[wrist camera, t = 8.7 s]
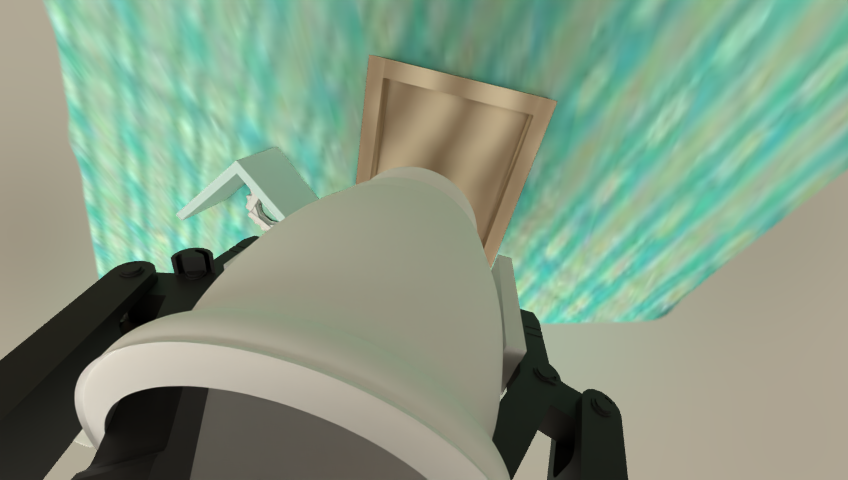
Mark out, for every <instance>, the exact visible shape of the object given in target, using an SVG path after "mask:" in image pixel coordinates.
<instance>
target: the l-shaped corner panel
mask: <svg viewBox="0 0 848 480" xmlns="http://www.w3.org/2000/svg"><path fill="white" fill-rule="evenodd" d="M245 183H246V185H247V186H248V187H249V188H250V191H251V194H249V195H247V196H246V197H247V200H248V203H247V204H246V206H245V207H246V208H247V209H248V210H249V211H250V212H249V213H248V216H249V217H250V218H251V219H253V220H254V223H255V224H259V225H260V226H261V229H262V230H264V231H268V230H269V229H271V228H272V227H273V226H275V225H276V224H277V223H279V222H280V221H282V220H283V219H284V218H286V217H288V216H289V215H291V214H292V213H294V212H296V211H297V210H299V209H301V208H302V207H304V206H305V205H307V204H308V203H312V202H314V201H316V200H318V199H319V198H318V197H317V196H316V195H315V193H314V192H313V191H312V190H311V188H310V187H309V186H308V184H307V183H306V182H305V181H304V179H303V178H302V177H301V176H300V174H299V173H298V172H297V171H296V169H295V168H294V167H293V166H292V164H291V163H290V162H289V161H288V159H287V158H286V157H285V156H284V154H283V153H282V152H281V151H280V149H279V148H278V147H275V148H272V149H269V150H266V151H263V152H260V153H257V154H254V155H251V156H248V157H245V158H242V159H239V160H236V161H235V162H234V163H233V164H232V165H231V166H230V167H228V168H227V169H226V170H225V171H224V172H223V173H222V174H221V175H220V176H218V177H217V178H216V179H215V180H214V181H213V182H212V183H211V184H209V185H208V186H207V187H206V188H205V189H204V190H203V191H202V192H200V193H199V194H198V195H197V196H196V197H195V198H194V199H193V200H192V201H190V202H189V203H188V204H187V205H186V206H185V207H184V208H183V209H181V210H180V211H179V212H178V213H177V214H176V215H177V216H178V217H179V218H180V219H181V220H184V219H186V218H189V217H191V216H193V215H195V214H197V213H199V212H201V211H203V210H205V209H207V208H209V207H212V206H214V205H216V204H218V203H220V202H222V201H224V200H226V199H227V198H228V197H230V196H231V195H232V194H233V193H235V192H236V191H237V190H238V189H239V188H241V187H242V186H243V185H244V184H245ZM261 202H262V203H263V204H264V205H265V206H266V208H267V209H268V210H269V211H270V212H271V213H272V214H273V216H274V217H275V218H276V219H277V220H278V221H279V222H275V221H271V220H269V219H268V218H267V217H266V216H265V214H264V213H263V212H262V208H261Z"/></svg>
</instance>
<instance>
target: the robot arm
mask: <svg viewBox="0 0 848 480" xmlns="http://www.w3.org/2000/svg"><path fill="white" fill-rule="evenodd" d="M308 204H310V203H308ZM308 204H307V205H308ZM305 206H306V205H305ZM258 238H259V237H258V236H252V237H249V238H246V239H244V240H242V241H241V242H239V243H238V244H236V246H233V247H232V248H230V249H229V251H228V250H227V251H226V252H225V253H223V254H222V255H220V256H219V257H217V258H216V259H213V253H212V252H211V251H210V250H208V249H204V248H188V249H185V250H181V251H179V252H177V253H175V254H174V255H173V256H172V257H171V261H172V265H173V269H174V273H159V272H156V269H155V266H154V265H153V264H152V263H150V262H146V261H134V262H128V263H124V264H122V265H119V266H117V267H115V268H114V269H112V270H111V271H109V272H108V273H107V274H106V275H104V276H103V277H102V278H101V279H100V280H98V281H97V282H96V283H95V284H93V285H92V286H91V287H90V288H88V289H87V290H86V291H85V292H84V293H82V294H81V295H80V296H79V297H77V298H76V299H75V300H74V301H73V302H71V303H70V304H69V305H68V306H66V307H65V308H64V309H63V310H62V311H60V312H59V313H58V314H57V315H55V316H54V317H53V318H52V319H50V321H48V322H47V323H46V324H44V325H43V326H42V327H41V328H40V329H38V330H37V331H36V332H35V333H33V334H32V335H31V336H30V337H28V338H27V339H26V340H25V341H24V342H22V343H21V344H20V345H19V346H17V347H16V348H15V349H14V350H13V351H11V352H10V353H9V354H8V355H6V356H5V357H4V358H3V359H1V360H0V480H43V479H44V477H45V476H46V475H47V474H48V472H49V471H50V470H51V469H52V467H53V466H54V465H55V463H56V462H57V461H58V459H59V458H60V457H61V456H62V454H63V453H64V452H65V451H66V449H67V448H68V447H69V446H70V444H71V443H72V442H73V440H74V439H75V438H76V437H77V435H78V434H79V433H80V432H81V430H82V429H83V428H82V426H81V423H80V421H79V418H78V415H77V412H76V407H75V388H76V384H77V381H78V379H79V377H80V375H81V373H82V372H83V371H84V369H85V368H86V367H87V366H88V365H89V364H90V363H92V362H93V361H94V360H96V359H97V358H99V357H100V356H101V355H102V354H103V353H104V352H105V351H106V350H107V349H108V348H109V347H110V346H111V345H113V344H114V343H115V342H116V341H117V340H119V339H120V338H121V337H123V336H124V335H125V334H127V333H128V332H130V331H132V330H134V329H135V328H137V327H139V326H141V325H144V324H146V323H148V322H151V321H153V320H156V319H159V318H161V317H165V316H168V315H172V314H176V313H181V312H186V311H192V309H193V308H194V307H195V305H196V304H197V302H198V301H199V300H200V298H201V297H202V296H203V295H204V293H205V292H206V291H207V290H208V288H209V287H210V286H211V285H212V284H213V283H214V281H215V280H216V279H217V278H218V277H219V276H220V275H221V274H222V273H223V272H224V270H225V269H226V268H227V267H228V266H229V265H230V264H231V263H232V262H233V261H234V260H235V259H236V258H237V257H238V256H239V255H240V254H241V253H243V252H244V251H245V250H246V249H247V248H248V247H249V246H250V245H251V244H252V243H254V242H255V241H256V240H257V239H258ZM491 272H492V275H493V278H494V282H495V286H496V290H497V294H498V299H499V305H500V312H501V320H502V333H503V369H502V384H501V394H500V395H502V394H503V392H504V390H505V388H506V387H507V392H506V394H505V395H504V397H503V398H502V399H501V401H500V403H499V410H498V416H497V421H496V426H495V430H494V434H493V437H492V441H493V443H494V445H495V446H496V448H497V450H498V451H499V453H500V455H501V457H502V459H503V461H504V463H505V466H506V468H507V471H508V473H509V477H510V480H512V479H513V477H514V475H515V473H516V471H517V469H518V467H519V465H520V463H521V461H522V460H523V458H524V456H525V454H526V452H527V450H528V447H529V446H530V444H531V441H532V439H533V438H534V436H535V434H536V432H537V430H539V431H541V432H542V433H544V434H545V435H547V436H549V437H550V438H552V439H551V450H550V458H549V466H548V476H547V480H628V475H627V465H626V455H625V447H624V437H623V427H622V418H621V414H620V411H619V409H618V407H617V406H616V404H615V403H614V402H613V401H612V400H611V399H610V398H609V397H608V396H607V395H605V394H604V393H602V392H600V391H597V390H595V389H587V390H586V391H584V392H583V393H582V394H581V393H580V392H578V391H576V390H574V389H573V388H571V387H569V386H567V385H566V384H565V383H563V382H562V381H561V379H560V376H559V374H558V373H557V371H556V370H555V369H554V368H553V367H552V366H551V365H550V364H549V361H548V357H547V353H546V349H545V344H544V340H543V336H542V332H541V328H540V323H539V321H538V319H537V318H536V316H535V315H534V313H533V312H529V311H525V310H522V309H520V307H519V301H518V295H517V289H516V283H515V277H514V271H513V265H512V259H511V258H509V257H505V256H502V255H498V256H497V258H496V261H495V263H494V266H493V268H492V271H491ZM208 390H209V388H207V387H197V386H163V387H154V388H149V389H144V390H140V391H137V392H134V393H131V394H129V395H126V396H125V397H123V398H121V399H120V400H119V403H118V405H117V407H116V410H115V412H114V414H113V416H112V419H111V421H110V423H109V425H108V428H107V430H106V432H105V434H104V437H103V439H102V441H101V443H100V446H99V448H98V450H97V452H96V455H95V457H94V459H93V461H92V463H91V465H90V466H89V467H88V468H87V469H86V470H84V471H82V472H79V473H77V474H76V475H75V476H74V477H73V478H72V479H71V480H190V476H191V471H192V466H193V462H194V457H195V452H196V447H197V443H198V438H199V433H200V428H201V424H202V419H203V414H204V409H205V404H206V400H207V395H208Z"/></svg>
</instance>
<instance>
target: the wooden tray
mask: <svg viewBox="0 0 848 480" xmlns="http://www.w3.org/2000/svg"><path fill="white" fill-rule="evenodd" d="M556 104H557V101H555V100H552V99H548V98H544V97H540V96H536V95H532V94H528V93H524V92H520V91H516V90H512V89H508V88H504V87H500V86H496V85H492V84H488V83H484V82H480V81H475V80H471V79H467V78H463V77H459V76H455V75H451V74H447V73H443V72H439V71H435V70H431V69H427V68H423V67H419V66H415V65H411V64H407V63H403V62H399V61H395V60H391V59H387V58H383V57H378V56H373V55H369V61H368V71H367V80H366V90H365V100H364V109H363V119H362V129H361V139H360V148H359V158H358V168H357V177H356V185H357V184H359V183H362V182H366V181H369V180H371V179H372V178H373V177H375V176H376V175H378V174H380V173H382V172H384V171H386V170H389V169H393V168H397V167H420V168H424V169H428V170H431V171H434V172H436V173H438V174H440V175H442V176H444V177H446V178H447V179H449V180H450V181H451V182H452V183H454V184H455V185H456V186H457V187H458V188H459V189H460V190H461V191H462V193H463V194H464V195H465V196H466V198H467V199H468V201H469V203H470V205H471V207H472V209H473V212H474V215H475V219H476V225H477V233H478V235H479V237H480V240H481V243H482V246H483V249H484V252H485V255H486V258H487V260H488V263H489V266H490V268H491V267H492V264H493V262H494V259H495V256H496V254H497V251H498V249H499V246H500V244H501V241H502V239H503V236H504V234H505V231H506V229H507V226H508V224H509V221H510V219H511V216H512V214H513V211H514V209H515V206H516V204H517V201H518V199H519V196H520V194H521V191H522V189H523V186H524V184H525V181H526V179H527V176H528V174H529V171H530V169H531V166H532V164H533V161H534V159H535V156H536V154H537V151H538V149H539V146H540V144H541V141H542V139H543V136H544V134H545V131H546V129H547V126H548V124H549V121H550V119H551V116H552V114H553V111H554V109H555V106H556Z"/></svg>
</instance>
